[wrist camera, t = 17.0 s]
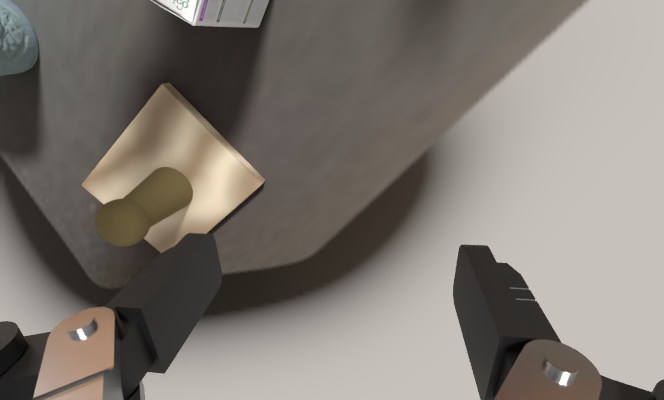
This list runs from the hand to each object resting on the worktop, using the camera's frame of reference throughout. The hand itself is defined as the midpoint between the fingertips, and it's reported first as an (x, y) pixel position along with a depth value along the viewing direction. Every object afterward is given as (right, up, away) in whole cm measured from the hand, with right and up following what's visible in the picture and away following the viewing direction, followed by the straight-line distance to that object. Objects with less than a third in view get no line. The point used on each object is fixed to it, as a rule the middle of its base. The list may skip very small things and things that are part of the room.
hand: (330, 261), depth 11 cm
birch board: (-21, +5, +35) cm, 41 cm away
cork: (-21, +4, +34) cm, 40 cm away
